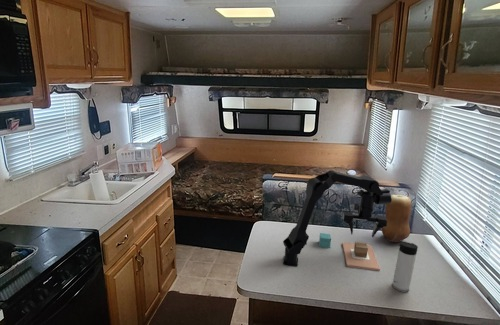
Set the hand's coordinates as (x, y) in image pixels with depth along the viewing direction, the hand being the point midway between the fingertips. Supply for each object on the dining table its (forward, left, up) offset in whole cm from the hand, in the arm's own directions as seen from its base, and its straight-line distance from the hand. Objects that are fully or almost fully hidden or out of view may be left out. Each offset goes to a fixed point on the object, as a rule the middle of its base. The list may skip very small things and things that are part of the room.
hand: (361, 235), depth 147 cm
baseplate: (0, 0, -11) cm, 11 cm away
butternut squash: (+20, -20, -11) cm, 31 cm away
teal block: (+7, +16, -11) cm, 20 cm away
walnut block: (0, 0, -10) cm, 10 cm away
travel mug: (-20, -13, -11) cm, 27 cm away
